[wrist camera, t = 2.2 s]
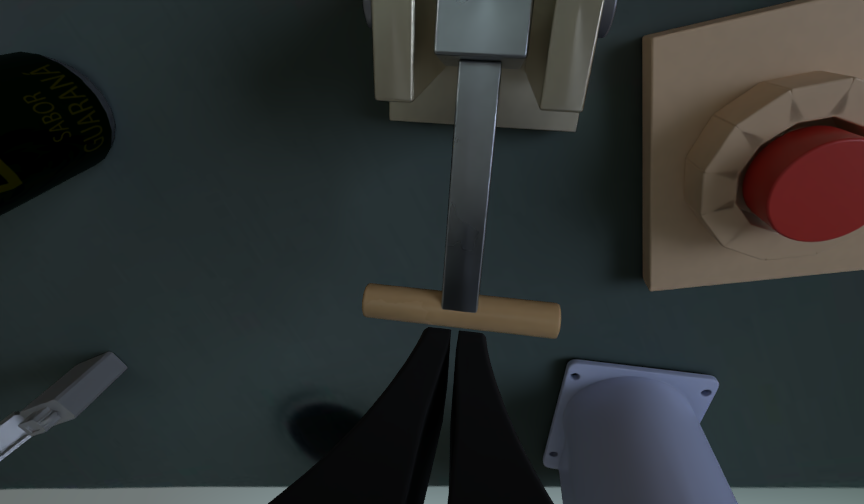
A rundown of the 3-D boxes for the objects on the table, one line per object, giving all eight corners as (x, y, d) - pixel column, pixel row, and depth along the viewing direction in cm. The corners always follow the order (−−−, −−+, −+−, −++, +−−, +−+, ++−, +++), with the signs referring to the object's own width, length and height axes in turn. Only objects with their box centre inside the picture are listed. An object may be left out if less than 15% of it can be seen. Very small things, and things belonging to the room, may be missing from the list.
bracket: (571, 125, 18) (618, 201, 11) (395, 114, 19) (330, 178, 12) (623, -147, 14) (757, -320, 6) (391, -145, 14) (284, -298, 7)
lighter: (110, 350, 30) (-9, 454, 23) (128, 367, 30) (18, 473, 23) (51, 374, 32) (-72, 475, 25) (70, 390, 33) (-46, 492, 26)
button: (847, 213, 16) (884, 235, 14) (736, 227, 16) (760, 249, 15) (871, 114, 14) (916, 127, 12) (746, 136, 15) (774, 150, 13)
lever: (549, 319, 14) (561, 357, 12) (375, 299, 15) (354, 333, 13) (608, -44, 11) (639, -86, 9) (381, -49, 12) (355, -89, 9)
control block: (859, 254, 19) (916, 293, 16) (642, 278, 21) (662, 316, 18) (937, -33, 14) (1038, -43, 11) (641, 35, 16) (668, 40, 13)
